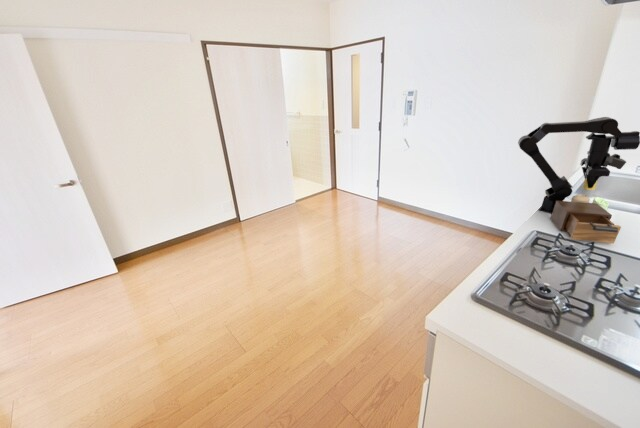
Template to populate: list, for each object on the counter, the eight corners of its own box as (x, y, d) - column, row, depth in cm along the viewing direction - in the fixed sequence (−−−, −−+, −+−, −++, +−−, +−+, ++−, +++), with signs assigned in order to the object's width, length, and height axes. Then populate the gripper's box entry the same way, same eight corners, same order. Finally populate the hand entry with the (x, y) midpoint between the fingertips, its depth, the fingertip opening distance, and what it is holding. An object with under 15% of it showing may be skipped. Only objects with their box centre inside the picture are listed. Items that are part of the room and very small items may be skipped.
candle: (568, 218, 122) (576, 196, 117) (564, 212, 126) (571, 192, 122) (584, 219, 120) (593, 198, 115) (579, 214, 124) (587, 193, 120)
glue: (580, 188, 120) (583, 176, 118) (585, 186, 122) (588, 174, 120) (592, 190, 117) (595, 178, 115) (597, 188, 119) (600, 176, 116)
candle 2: (605, 218, 120) (613, 200, 116) (597, 220, 119) (604, 202, 115) (593, 213, 124) (599, 196, 121) (584, 215, 123) (591, 198, 120)
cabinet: (603, 235, 108) (612, 215, 104) (560, 230, 112) (567, 211, 109) (589, 222, 117) (596, 203, 114) (550, 218, 122) (556, 200, 118)
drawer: (621, 250, 97) (631, 230, 93) (576, 245, 101) (584, 225, 97) (599, 230, 109) (607, 211, 106) (560, 226, 114) (567, 208, 110)
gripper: (634, 155, 102) (621, 195, 108) (620, 145, 116) (609, 180, 122) (593, 155, 108) (583, 193, 114) (584, 145, 122) (576, 179, 128)
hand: (589, 186), depth 119 cm, fingers closed on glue, 4 cm apart
